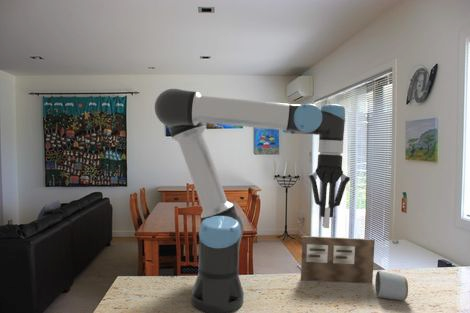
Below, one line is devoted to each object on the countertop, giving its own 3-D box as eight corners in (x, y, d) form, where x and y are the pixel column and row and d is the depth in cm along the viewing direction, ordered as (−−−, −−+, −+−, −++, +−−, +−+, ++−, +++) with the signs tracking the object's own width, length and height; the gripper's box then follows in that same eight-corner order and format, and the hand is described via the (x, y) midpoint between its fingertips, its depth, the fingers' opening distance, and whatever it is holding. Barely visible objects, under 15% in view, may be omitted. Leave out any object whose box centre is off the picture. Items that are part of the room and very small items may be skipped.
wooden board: (301, 280, 108) (303, 236, 107) (300, 279, 109) (302, 236, 108) (372, 284, 107) (375, 240, 106) (371, 282, 108) (373, 239, 107)
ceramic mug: (408, 305, 93) (410, 279, 93) (378, 301, 95) (380, 275, 95) (399, 290, 103) (400, 267, 103) (372, 286, 105) (373, 263, 105)
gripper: (347, 154, 104) (342, 225, 105) (307, 152, 105) (303, 222, 106) (354, 155, 97) (349, 231, 98) (311, 153, 98) (307, 228, 99)
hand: (325, 226), depth 102 cm, fingers closed
